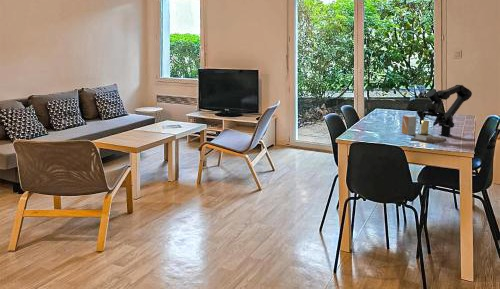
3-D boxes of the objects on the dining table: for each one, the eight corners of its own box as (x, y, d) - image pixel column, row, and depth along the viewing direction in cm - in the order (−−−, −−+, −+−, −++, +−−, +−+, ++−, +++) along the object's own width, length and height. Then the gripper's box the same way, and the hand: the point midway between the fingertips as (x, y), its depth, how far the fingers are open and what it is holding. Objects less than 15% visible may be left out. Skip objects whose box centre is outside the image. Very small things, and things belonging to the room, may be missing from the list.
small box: (401, 133, 324) (402, 115, 321) (409, 132, 325) (410, 114, 322) (407, 135, 316) (408, 116, 313) (415, 134, 317) (416, 116, 315)
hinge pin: (424, 138, 300) (425, 120, 297) (428, 139, 296) (430, 121, 293) (418, 138, 299) (420, 120, 296) (423, 139, 295) (424, 121, 292)
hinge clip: (421, 137, 303) (422, 132, 302) (432, 139, 297) (432, 134, 296) (415, 138, 298) (415, 134, 297) (426, 140, 292) (426, 136, 291)
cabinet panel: (424, 136, 310) (424, 135, 310) (446, 140, 298) (446, 138, 298) (410, 139, 301) (411, 138, 300) (433, 143, 288) (433, 141, 288)
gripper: (418, 97, 303) (409, 115, 298) (446, 99, 290) (437, 118, 285) (423, 107, 310) (414, 125, 305) (450, 110, 297) (442, 129, 292)
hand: (426, 124), depth 297 cm, fingers open, 9 cm apart
